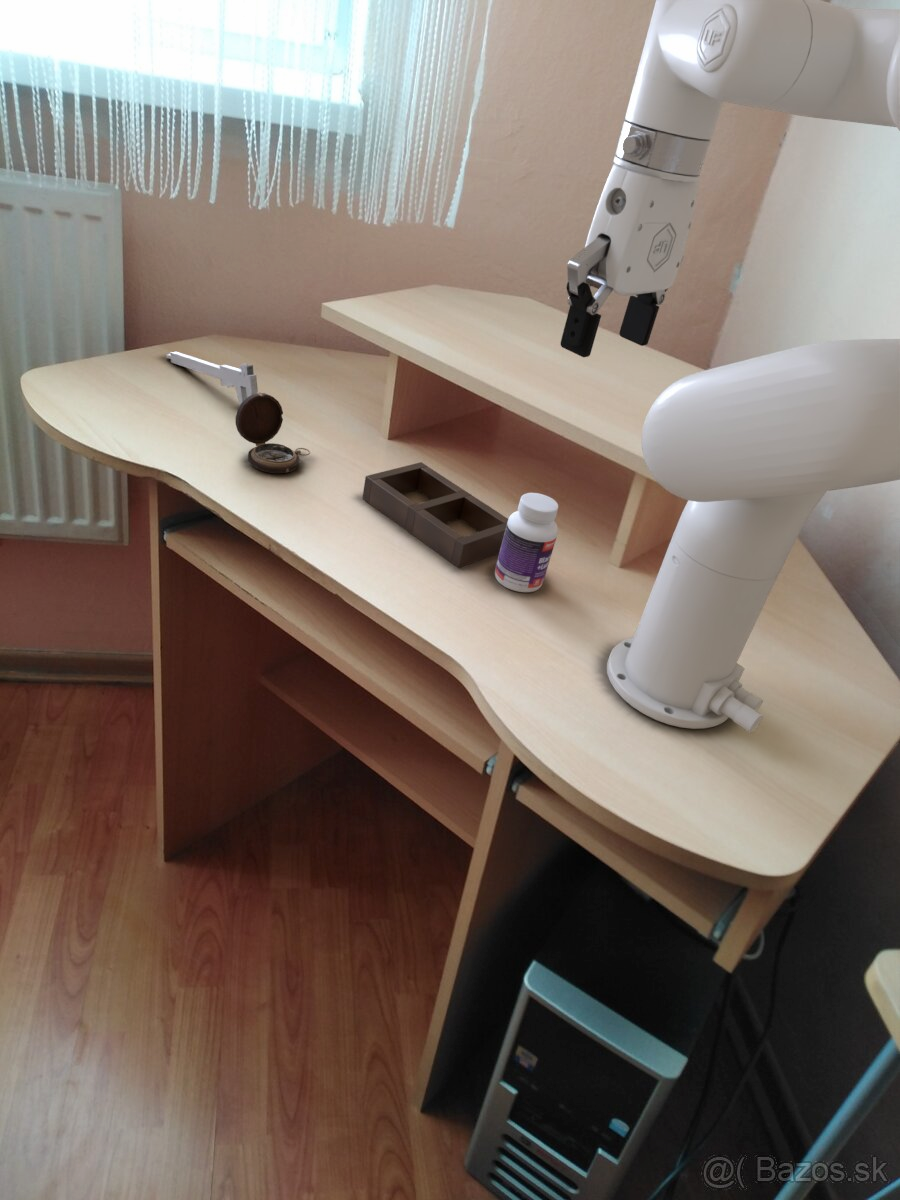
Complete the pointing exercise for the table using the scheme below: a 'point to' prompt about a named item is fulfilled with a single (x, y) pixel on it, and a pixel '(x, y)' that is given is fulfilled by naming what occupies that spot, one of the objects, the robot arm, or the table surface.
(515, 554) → the pill bottle
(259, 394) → the compass
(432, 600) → the table surface
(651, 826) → the table surface
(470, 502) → the tray
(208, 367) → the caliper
